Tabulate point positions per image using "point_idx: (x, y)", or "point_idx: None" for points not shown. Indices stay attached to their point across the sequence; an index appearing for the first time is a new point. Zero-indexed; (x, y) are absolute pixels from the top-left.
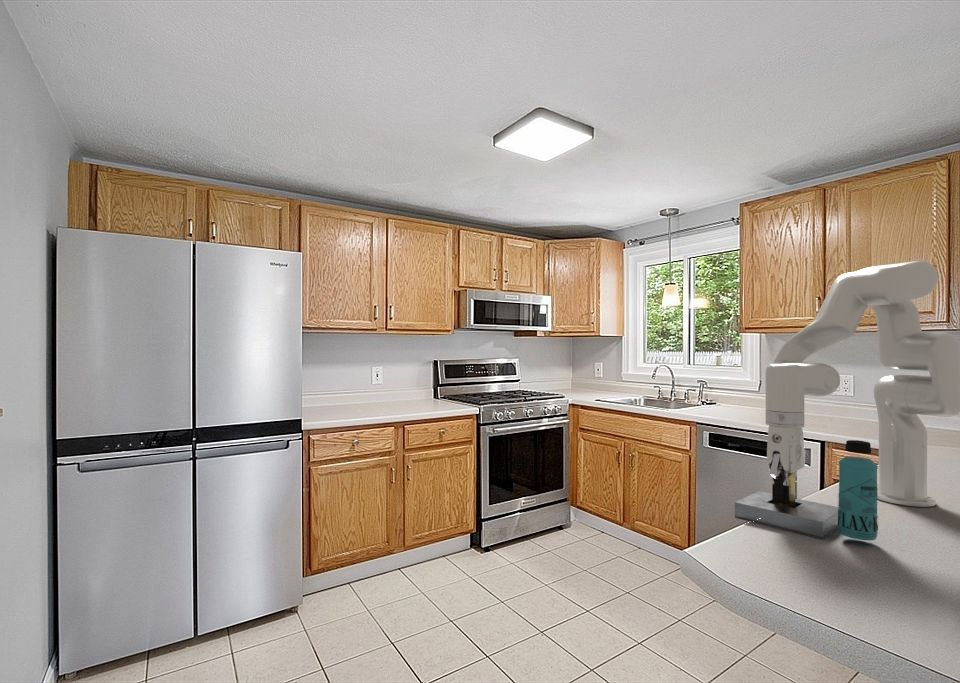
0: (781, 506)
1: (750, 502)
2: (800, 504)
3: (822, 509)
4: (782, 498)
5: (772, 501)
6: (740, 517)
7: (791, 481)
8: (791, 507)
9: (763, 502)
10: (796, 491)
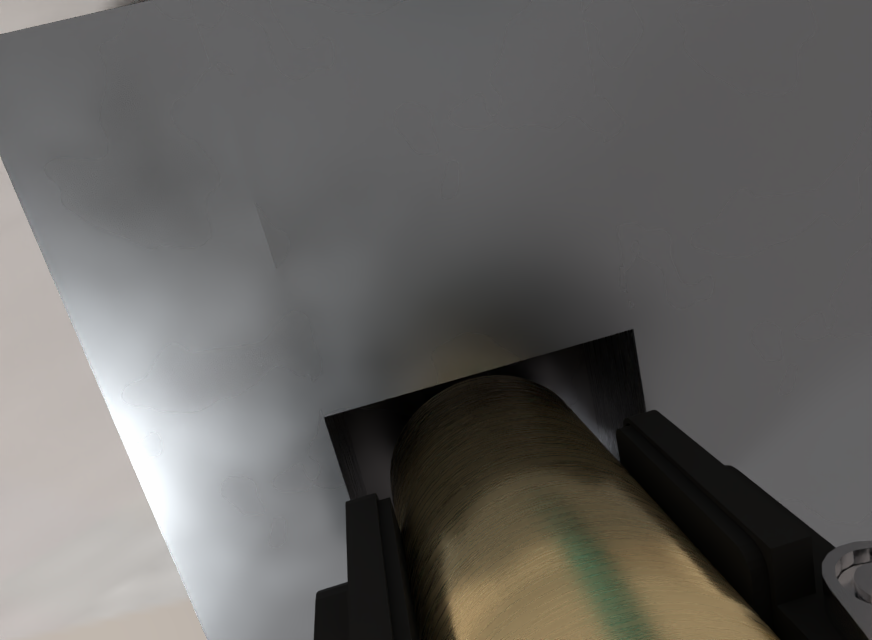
0: None
1: None
2: (329, 431)
3: (348, 140)
4: (733, 472)
5: None
6: None
7: (728, 616)
8: (542, 401)
9: None
10: (360, 558)
